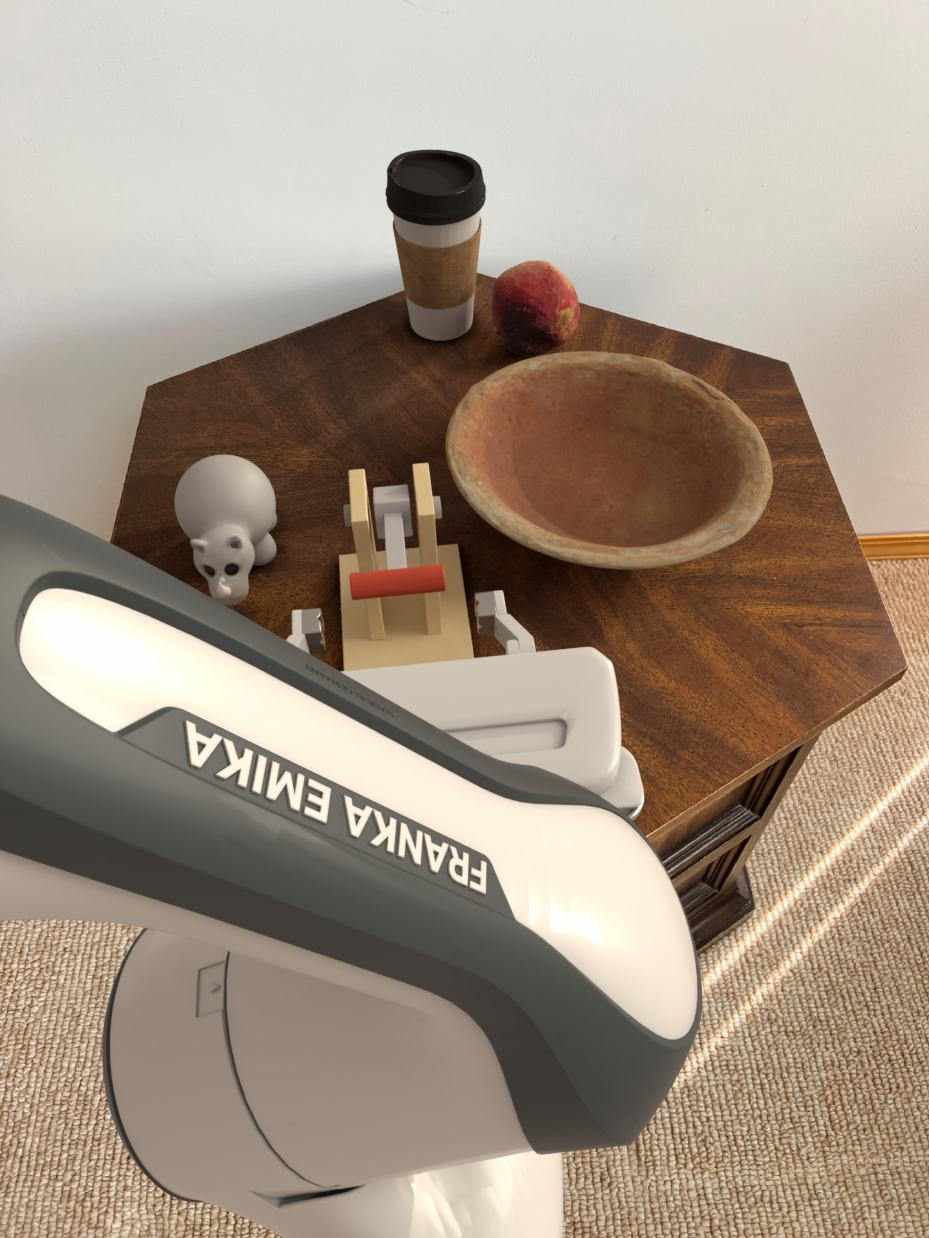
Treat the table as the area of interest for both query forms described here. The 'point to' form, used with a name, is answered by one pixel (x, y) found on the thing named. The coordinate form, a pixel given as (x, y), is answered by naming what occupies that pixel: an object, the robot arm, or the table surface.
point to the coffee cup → (437, 237)
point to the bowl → (608, 460)
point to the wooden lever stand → (405, 621)
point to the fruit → (534, 308)
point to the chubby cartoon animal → (227, 522)
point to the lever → (395, 552)
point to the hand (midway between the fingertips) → (398, 606)
